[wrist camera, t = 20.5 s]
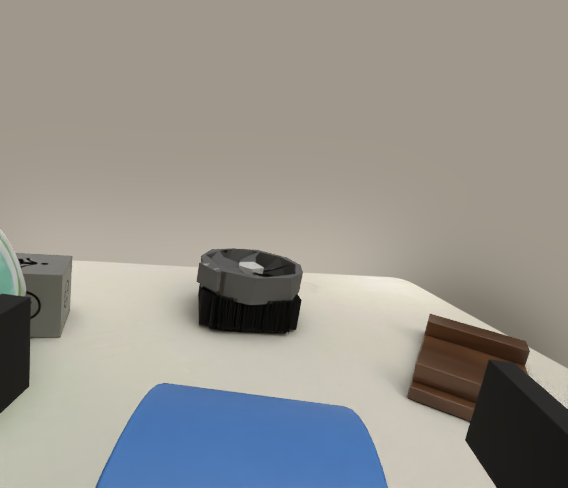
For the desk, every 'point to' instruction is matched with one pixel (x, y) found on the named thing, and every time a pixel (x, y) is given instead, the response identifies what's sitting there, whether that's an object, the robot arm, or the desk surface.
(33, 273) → the dice cube
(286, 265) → the cpu cooler
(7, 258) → the turtle holder
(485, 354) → the tape holder
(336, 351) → the desk surface
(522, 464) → the robot arm
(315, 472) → the tape roll
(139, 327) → the desk surface
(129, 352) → the desk surface
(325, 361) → the desk surface
